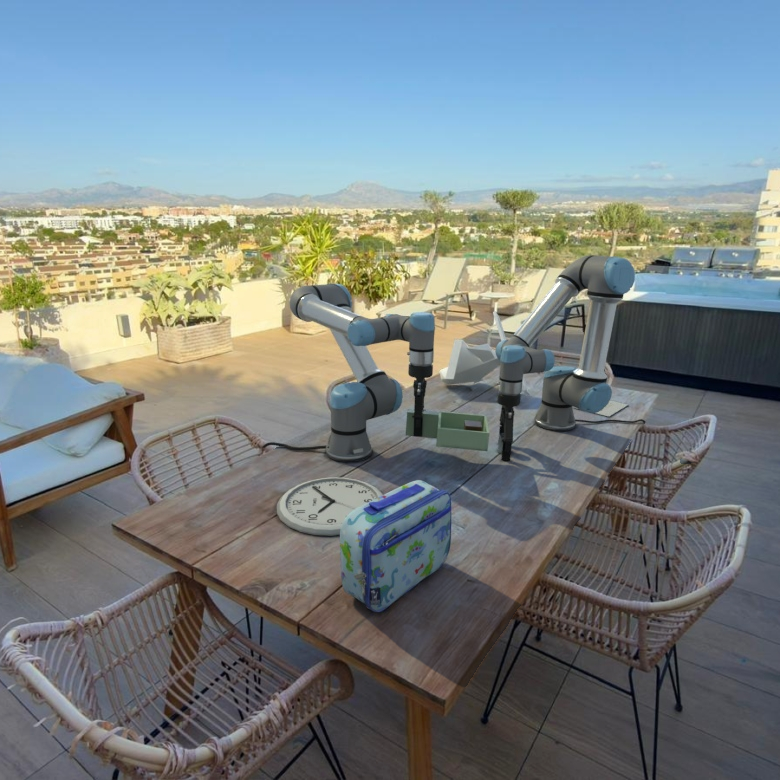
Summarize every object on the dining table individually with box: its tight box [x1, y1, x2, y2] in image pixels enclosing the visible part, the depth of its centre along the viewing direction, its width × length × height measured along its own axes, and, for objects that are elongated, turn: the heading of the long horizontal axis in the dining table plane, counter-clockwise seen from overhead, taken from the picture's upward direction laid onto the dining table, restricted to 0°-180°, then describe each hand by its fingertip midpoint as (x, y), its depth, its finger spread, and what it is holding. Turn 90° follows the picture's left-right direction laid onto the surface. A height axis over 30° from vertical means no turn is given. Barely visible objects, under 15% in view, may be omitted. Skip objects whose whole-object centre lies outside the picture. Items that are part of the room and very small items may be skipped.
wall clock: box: [276, 476, 385, 537], centre depth 142 cm, size 30×2×30 cm
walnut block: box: [464, 420, 482, 432], centre depth 162 cm, size 5×5×6 cm
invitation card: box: [573, 400, 629, 418], centre depth 226 cm, size 21×1×15 cm
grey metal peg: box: [497, 433, 508, 455], centre depth 178 cm, size 4×4×6 cm
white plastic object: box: [438, 310, 531, 397], centre depth 245 cm, size 37×45×31 cm
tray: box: [405, 408, 490, 452], centre depth 166 cm, size 26×16×8 cm, turn 83°
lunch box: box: [339, 479, 452, 613], centre depth 109 cm, size 26×11×21 cm, turn 134°
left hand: (418, 433), depth 168 cm, fingers closed on tray, 3 cm apart
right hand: (503, 451), depth 179 cm, fingers open, 13 cm apart
